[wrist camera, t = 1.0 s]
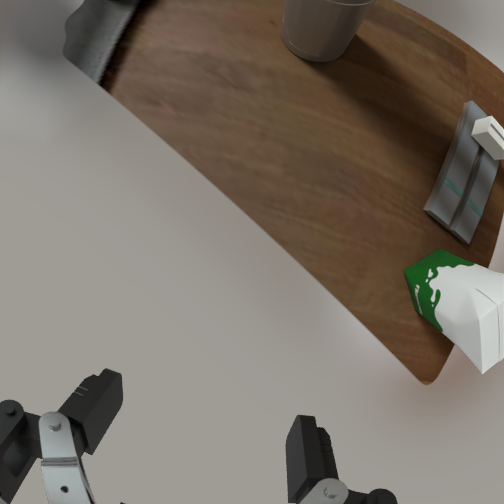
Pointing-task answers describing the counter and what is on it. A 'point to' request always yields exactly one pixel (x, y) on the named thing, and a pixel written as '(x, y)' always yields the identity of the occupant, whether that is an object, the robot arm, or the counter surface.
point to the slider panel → (463, 179)
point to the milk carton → (461, 304)
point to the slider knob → (490, 136)
